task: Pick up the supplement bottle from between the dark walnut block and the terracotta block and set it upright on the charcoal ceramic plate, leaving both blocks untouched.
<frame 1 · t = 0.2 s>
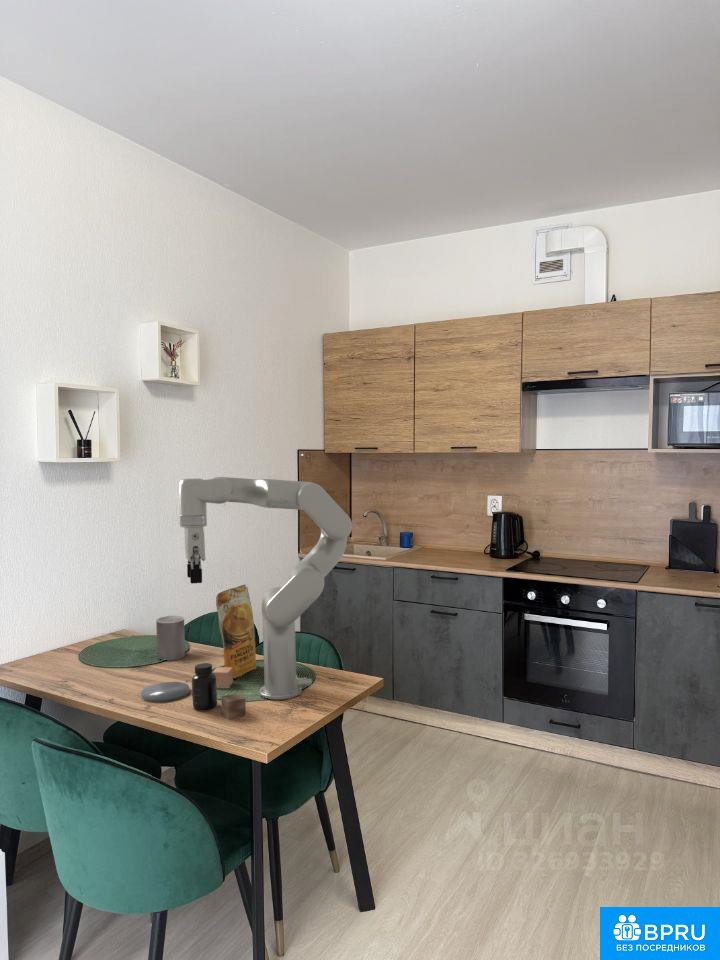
hand: (194, 580, 198), 36 cm above the table, tool pointing down, fingers open, 9 cm apart
charcoal plate: (165, 693, 205), on the table
pillar candle: (171, 657, 243), on the table
walnut block: (233, 715, 188), on the table
terracotta block: (222, 685, 212), on the table
pancake mix bag: (238, 673, 224), on the table
supplement bottle: (205, 707, 194), on the table
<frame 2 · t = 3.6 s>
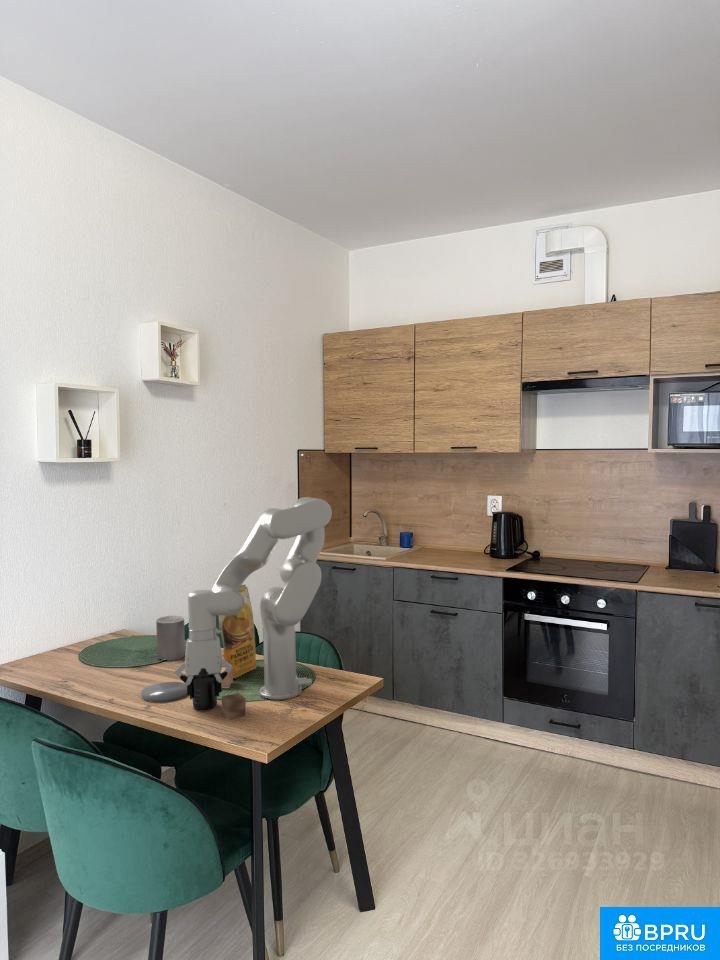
hand: (204, 695, 194), 3 cm above the table, tool pointing down, fingers closed on supplement bottle, 6 cm apart
supplement bottle: (204, 707, 194), on the table, touching gripper
everything else where it was.
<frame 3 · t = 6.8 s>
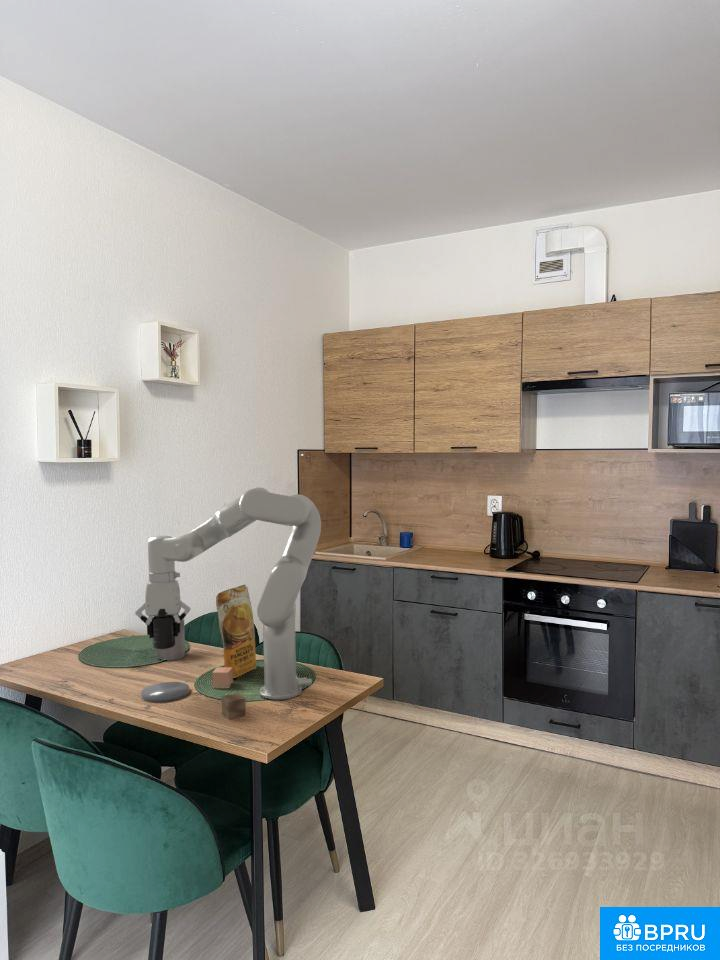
hand: (164, 635, 205), 18 cm above the table, tool pointing down, fingers closed on supplement bottle, 6 cm apart
supplement bottle: (164, 647, 205), point 14 cm above the table, touching gripper
everything else where it was.
when the fingers open (6 cm above the table, at t = 10.0 s): supplement bottle drops 1 cm, resting on charcoal plate.
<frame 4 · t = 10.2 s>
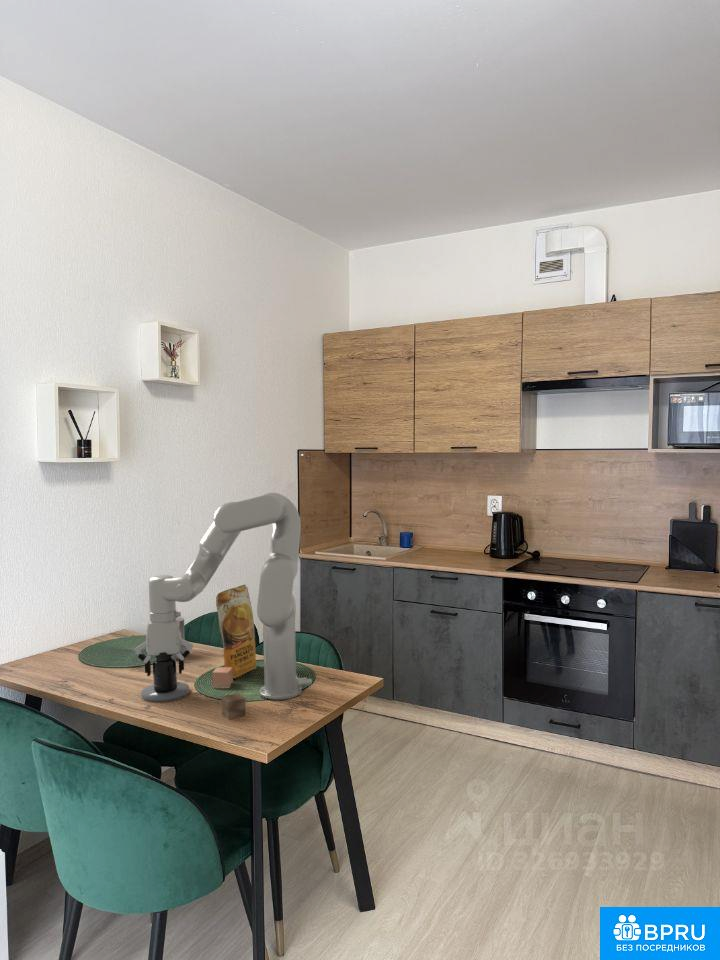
hand: (164, 673, 205), 6 cm above the table, tool pointing down, fingers open, 8 cm apart
supplement bottle: (165, 690, 205), point 1 cm above the table, touching charcoal plate
everything else where it was.
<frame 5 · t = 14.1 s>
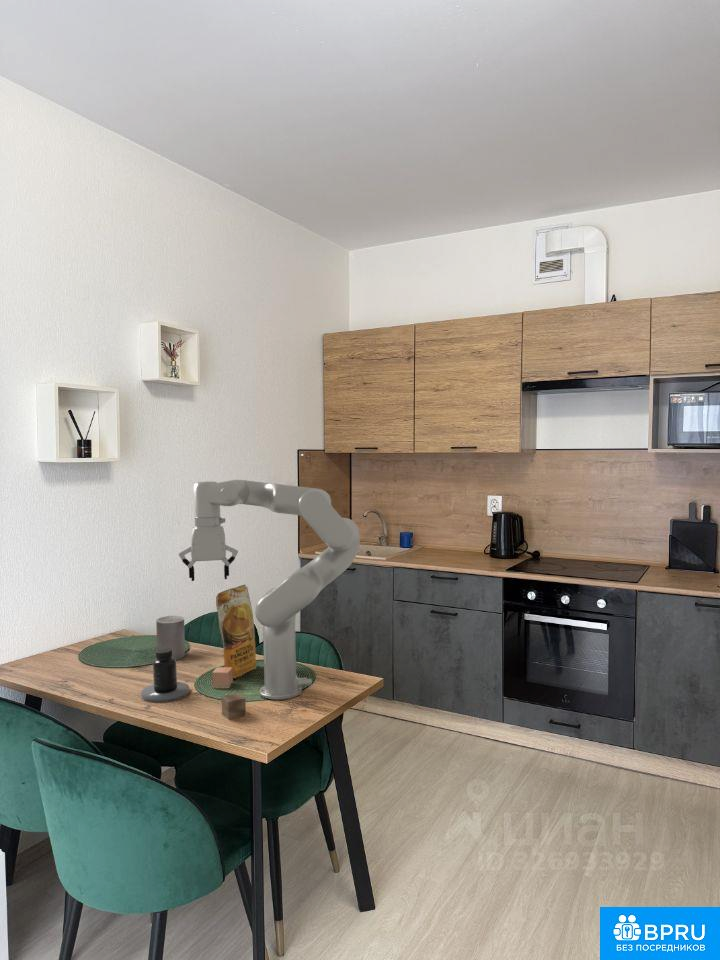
hand: (209, 579, 205), 34 cm above the table, tool pointing down, fingers open, 9 cm apart
nothing on the table moved.
at the end: supplement bottle 0.1 cm off-centre on the charcoal plate, point 1.0 cm above the charcoal plate's base; supplement bottle tilted 0°; walnut block moved 0.1 cm from its start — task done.
